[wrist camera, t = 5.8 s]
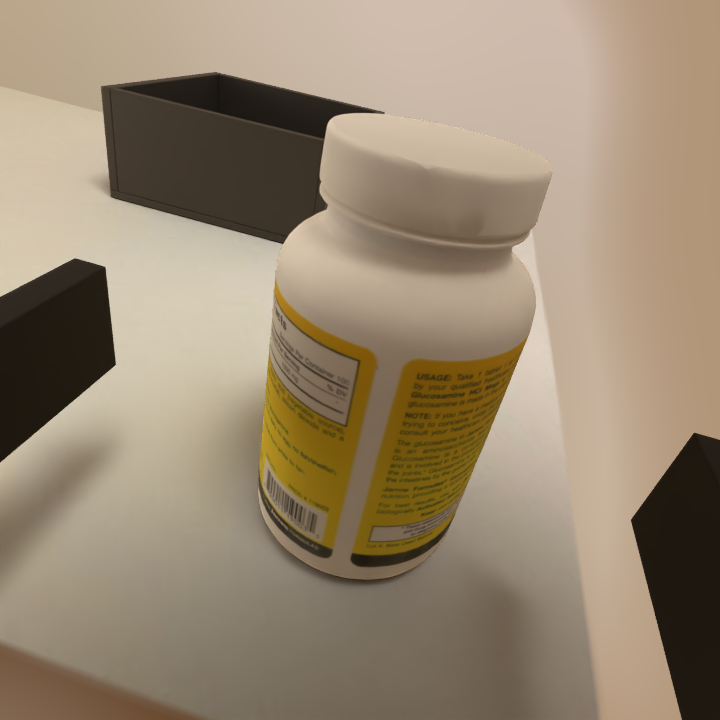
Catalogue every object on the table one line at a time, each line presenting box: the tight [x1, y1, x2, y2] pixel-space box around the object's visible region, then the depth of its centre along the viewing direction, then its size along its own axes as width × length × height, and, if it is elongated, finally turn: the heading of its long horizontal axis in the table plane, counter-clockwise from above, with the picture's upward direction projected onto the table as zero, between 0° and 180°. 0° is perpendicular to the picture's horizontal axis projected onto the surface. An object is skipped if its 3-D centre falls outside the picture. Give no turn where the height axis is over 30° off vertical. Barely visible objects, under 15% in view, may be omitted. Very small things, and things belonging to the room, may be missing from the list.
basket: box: [101, 72, 384, 243], centre depth 37 cm, size 14×14×6 cm
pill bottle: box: [258, 113, 552, 580], centre depth 14 cm, size 6×6×11 cm
